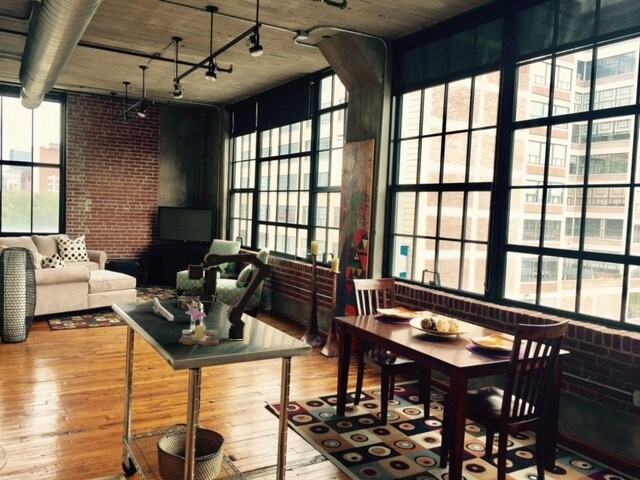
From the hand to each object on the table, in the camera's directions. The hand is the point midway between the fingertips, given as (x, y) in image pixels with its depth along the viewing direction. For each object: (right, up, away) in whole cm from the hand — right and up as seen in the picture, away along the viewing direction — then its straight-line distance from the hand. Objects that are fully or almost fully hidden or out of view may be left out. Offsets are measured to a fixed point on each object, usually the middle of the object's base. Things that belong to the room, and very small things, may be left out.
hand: (208, 313), depth 249 cm
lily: (-14, -10, +34) cm, 39 cm away
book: (-27, -7, +79) cm, 84 cm away
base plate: (-3, -12, -4) cm, 13 cm away
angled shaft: (-8, -10, -6) cm, 14 cm away
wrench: (-35, -8, +47) cm, 59 cm away
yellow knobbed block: (-3, -10, -5) cm, 12 cm away
